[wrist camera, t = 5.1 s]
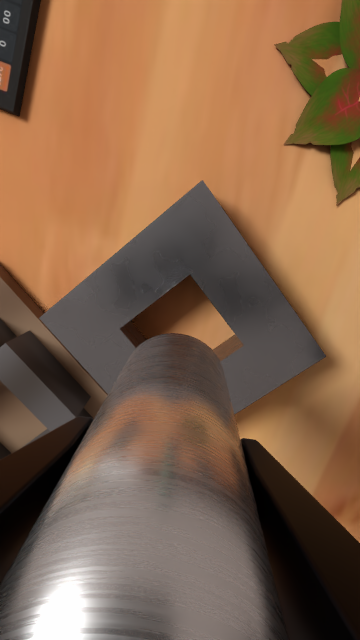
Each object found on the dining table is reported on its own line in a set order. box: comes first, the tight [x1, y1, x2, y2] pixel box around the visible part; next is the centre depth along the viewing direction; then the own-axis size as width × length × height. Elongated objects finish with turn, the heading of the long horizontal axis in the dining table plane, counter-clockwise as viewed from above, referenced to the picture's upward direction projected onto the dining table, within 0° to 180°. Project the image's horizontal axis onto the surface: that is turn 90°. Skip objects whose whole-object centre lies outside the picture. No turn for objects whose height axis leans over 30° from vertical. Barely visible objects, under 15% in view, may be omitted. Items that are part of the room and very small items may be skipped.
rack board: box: [0, 265, 108, 460], centre depth 19 cm, size 16×12×4 cm
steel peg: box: [0, 333, 289, 640], centre depth 6 cm, size 4×4×10 cm
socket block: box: [39, 180, 326, 414], centre depth 18 cm, size 12×12×2 cm
